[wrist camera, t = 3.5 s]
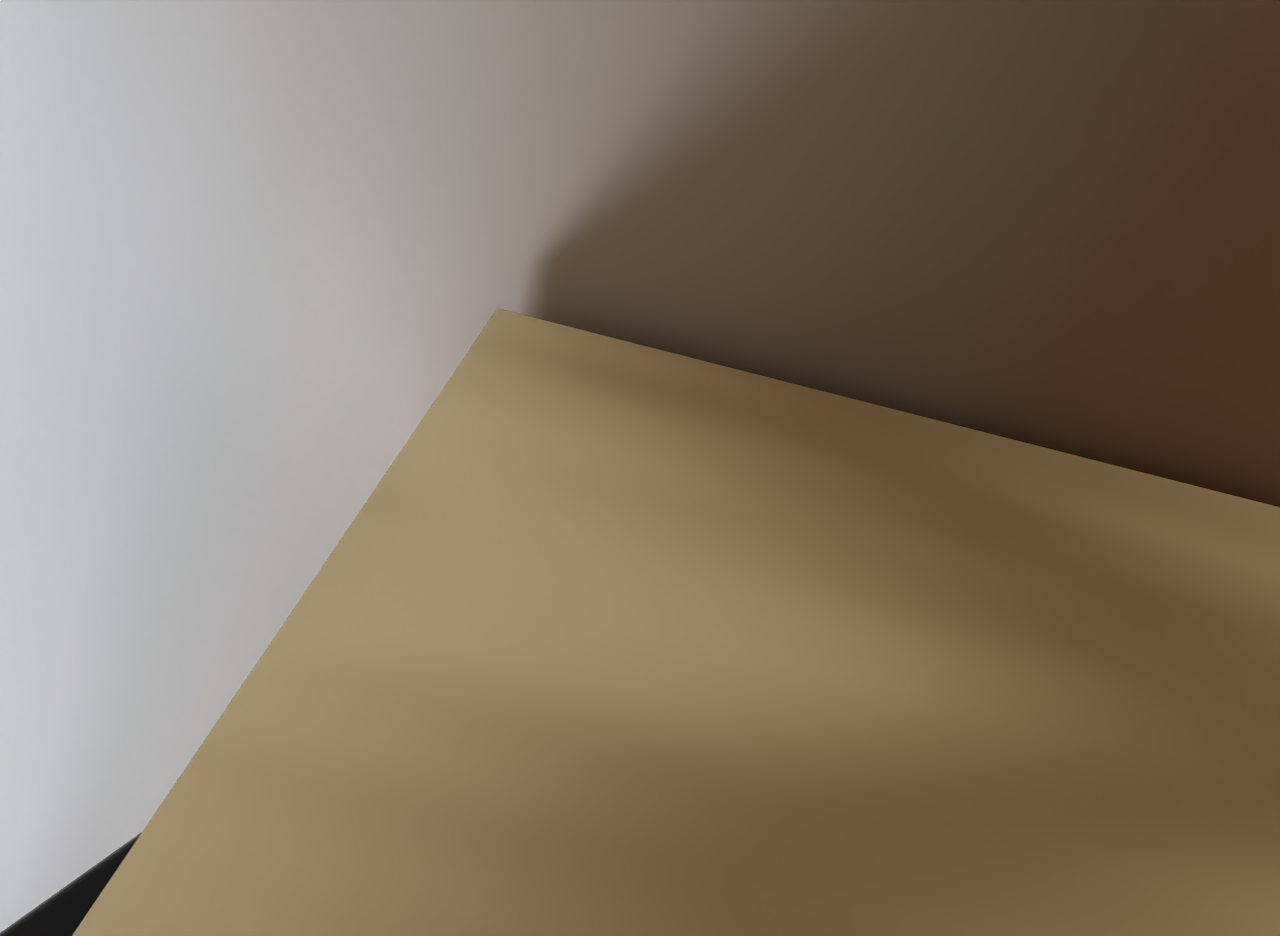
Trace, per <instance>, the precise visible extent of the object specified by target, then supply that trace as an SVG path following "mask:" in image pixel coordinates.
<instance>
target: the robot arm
mask: <svg viewBox="0 0 1280 936" xmlns="http://www.w3.org/2000/svg"><path fill="white" fill-rule="evenodd" d="M140 835H141V833H140V834H139V835H137V836H136V837H135V838H133V839H132V840H130V841H129V842H128V843H126V844H125V845H123V846H122V847H120V848H119V849H118V850H116V851H115V852H113V853H112V854H111V855H109V856H108V857H106V858H105V859H104V860H102V861H101V862H99V863H98V864H97V865H95V866H94V867H92V868H91V869H90V870H88V871H87V872H85V873H84V874H83V875H81V876H80V877H78V878H77V879H76V880H74V881H73V882H71V883H70V884H69V885H67V886H66V887H64V888H63V889H61V890H60V891H59V892H57V893H56V894H54V895H53V896H52V897H50V898H49V899H47V900H46V901H45V902H43V903H42V904H40V905H39V906H38V907H36V908H35V909H33V910H32V911H31V912H29V913H28V914H26V915H25V916H24V917H22V918H21V919H19V920H18V921H17V922H15V923H14V924H12V925H11V926H9V927H8V928H7V929H5V930H4V931H2V932H1V933H0V936H72V935H73V934H74V932H75V931H76V929H77V928H78V926H79V925H80V923H81V922H82V920H83V919H84V917H85V916H86V914H87V913H88V911H89V910H90V909H91V907H92V906H93V904H94V903H95V901H96V900H97V898H98V897H99V895H100V894H101V892H102V891H103V889H104V888H105V886H106V885H107V883H108V882H109V881H110V879H111V878H112V876H113V875H114V873H115V872H116V870H117V869H118V867H119V866H120V864H121V863H122V861H123V860H124V858H125V857H126V855H127V854H128V852H129V851H130V850H131V848H132V847H133V845H134V844H135V842H136V841H137V839H138V838H139V836H140Z"/></svg>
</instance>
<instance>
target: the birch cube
mask: <svg viewBox="0 0 1280 936" xmlns="http://www.w3.org/2000/svg"><path fill="white" fill-rule="evenodd" d="M72 936H1280V507H1276V506H1272V505H1268V504H1265V503H1261V502H1257V501H1253V500H1249V499H1245V498H1241V497H1237V496H1233V495H1229V494H1225V493H1221V492H1217V491H1213V490H1210V489H1206V488H1202V487H1198V486H1194V485H1190V484H1186V483H1182V482H1178V481H1174V480H1170V479H1166V478H1162V477H1158V476H1154V475H1151V474H1147V473H1143V472H1139V471H1135V470H1131V469H1127V468H1123V467H1119V466H1115V465H1111V464H1107V463H1103V462H1099V461H1096V460H1092V459H1088V458H1084V457H1080V456H1076V455H1072V454H1068V453H1064V452H1060V451H1056V450H1052V449H1048V448H1044V447H1040V446H1037V445H1033V444H1029V443H1025V442H1021V441H1017V440H1013V439H1009V438H1005V437H1001V436H997V435H993V434H989V433H985V432H981V431H978V430H974V429H970V428H966V427H962V426H958V425H954V424H950V423H946V422H942V421H938V420H934V419H930V418H926V417H923V416H919V415H915V414H911V413H907V412H903V411H899V410H895V409H891V408H887V407H883V406H879V405H875V404H871V403H867V402H864V401H860V400H856V399H852V398H848V397H844V396H840V395H836V394H832V393H828V392H824V391H820V390H816V389H812V388H809V387H805V386H801V385H797V384H793V383H789V382H785V381H781V380H777V379H773V378H769V377H765V376H761V375H757V374H753V373H750V372H746V371H742V370H738V369H734V368H730V367H726V366H722V365H718V364H714V363H710V362H706V361H702V360H698V359H695V358H691V357H687V356H683V355H679V354H675V353H671V352H667V351H663V350H659V349H655V348H651V347H647V346H643V345H639V344H636V343H632V342H628V341H624V340H620V339H616V338H612V337H608V336H604V335H600V334H596V333H592V332H588V331H584V330H580V329H577V328H573V327H569V326H565V325H561V324H557V323H553V322H549V321H545V320H541V319H537V318H533V317H529V316H525V315H522V314H518V313H514V312H510V311H506V310H502V309H497V310H496V312H495V313H494V314H493V316H492V317H491V319H490V320H489V322H488V323H487V325H486V326H485V328H484V329H483V331H482V332H481V334H480V335H479V337H478V338H477V340H476V341H475V342H474V344H473V345H472V347H471V348H470V350H469V351H468V353H467V354H466V356H465V357H464V359H463V360H462V362H461V363H460V365H459V366H458V368H457V369H456V371H455V372H454V373H453V375H452V376H451V378H450V379H449V381H448V382H447V384H446V385H445V387H444V388H443V390H442V391H441V393H440V394H439V396H438V397H437V399H436V400H435V401H434V403H433V404H432V406H431V407H430V409H429V410H428V412H427V413H426V415H425V416H424V418H423V419H422V421H421V422H420V424H419V425H418V427H417V428H416V429H415V431H414V432H413V434H412V435H411V437H410V438H409V440H408V441H407V443H406V444H405V446H404V447H403V449H402V450H401V452H400V453H399V455H398V456H397V457H396V459H395V460H394V462H393V463H392V465H391V466H390V468H389V469H388V471H387V472H386V474H385V475H384V477H383V478H382V480H381V481H380V483H379V484H378V485H377V487H376V488H375V490H374V491H373V493H372V494H371V496H370V497H369V499H368V500H367V502H366V503H365V505H364V506H363V508H362V509H361V511H360V512H359V513H358V515H357V516H356V518H355V519H354V521H353V522H352V524H351V525H350V527H349V528H348V530H347V531H346V533H345V534H344V536H343V537H342V539H341V540H340V541H339V543H338V544H337V546H336V547H335V549H334V550H333V552H332V553H331V555H330V556H329V558H328V559H327V561H326V562H325V564H324V565H323V567H322V568H321V569H320V571H319V572H318V574H317V575H316V577H315V578H314V580H313V581H312V583H311V584H310V586H309V587H308V589H307V590H306V592H305V593H304V595H303V596H302V597H301V599H300V600H299V602H298V603H297V605H296V606H295V608H294V609H293V611H292V612H291V614H290V615H289V617H288V618H287V620H286V621H285V623H284V624H283V626H282V627H281V628H280V630H279V631H278V633H277V634H276V636H275V637H274V639H273V640H272V642H271V643H270V645H269V646H268V648H267V649H266V651H265V652H264V654H263V655H262V656H261V658H260V659H259V661H258V662H257V664H256V665H255V667H254V668H253V670H252V671H251V673H250V674H249V676H248V677H247V679H246V680H245V682H244V683H243V684H242V686H241V687H240V689H239V690H238V692H237V693H236V695H235V696H234V698H233V699H232V701H231V702H230V704H229V705H228V707H227V708H226V710H225V711H224V712H223V714H222V715H221V717H220V718H219V720H218V721H217V723H216V724H215V726H214V727H213V729H212V730H211V732H210V733H209V735H208V736H207V738H206V739H205V740H204V742H203V743H202V745H201V746H200V748H199V749H198V751H197V752H196V754H195V755H194V757H193V758H192V760H191V761H190V763H189V764H188V766H187V767H186V768H185V770H184V771H183V773H182V774H181V776H180V777H179V779H178V780H177V782H176V783H175V785H174V786H173V788H172V789H171V791H170V792H169V794H168V795H167V796H166V798H165V799H164V801H163V802H162V804H161V805H160V807H159V808H158V810H157V811H156V813H155V814H154V816H153V817H152V819H151V820H150V822H149V823H148V824H147V826H146V827H145V829H144V830H143V832H142V833H141V835H140V836H139V838H138V839H137V841H136V842H135V844H134V845H133V847H132V848H131V850H130V851H129V852H128V854H127V855H126V857H125V858H124V860H123V861H122V863H121V864H120V866H119V867H118V869H117V870H116V872H115V873H114V875H113V876H112V878H111V879H110V881H109V882H108V883H107V885H106V886H105V888H104V889H103V891H102V892H101V894H100V895H99V897H98V898H97V900H96V901H95V903H94V904H93V906H92V907H91V909H90V910H89V911H88V913H87V914H86V916H85V917H84V919H83V920H82V922H81V923H80V925H79V926H78V928H77V929H76V931H75V932H74V934H73V935H72Z"/></svg>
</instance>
